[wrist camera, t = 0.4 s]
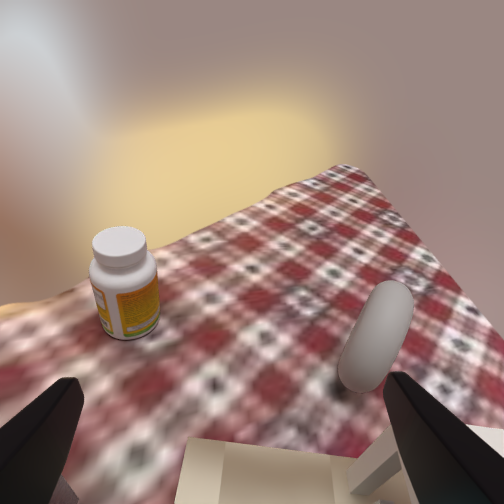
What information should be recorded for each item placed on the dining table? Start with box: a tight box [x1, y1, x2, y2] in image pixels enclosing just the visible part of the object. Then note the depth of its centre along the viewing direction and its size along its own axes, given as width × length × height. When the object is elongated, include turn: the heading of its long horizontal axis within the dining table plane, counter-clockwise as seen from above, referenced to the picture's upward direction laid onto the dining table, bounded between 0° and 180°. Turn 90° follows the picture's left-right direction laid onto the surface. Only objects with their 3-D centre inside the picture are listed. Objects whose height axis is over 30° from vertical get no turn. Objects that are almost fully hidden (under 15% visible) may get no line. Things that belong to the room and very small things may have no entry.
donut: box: [338, 281, 414, 393], centre depth 27 cm, size 10×4×10 cm, turn 149°
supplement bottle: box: [89, 226, 160, 340], centre depth 28 cm, size 5×5×10 cm
